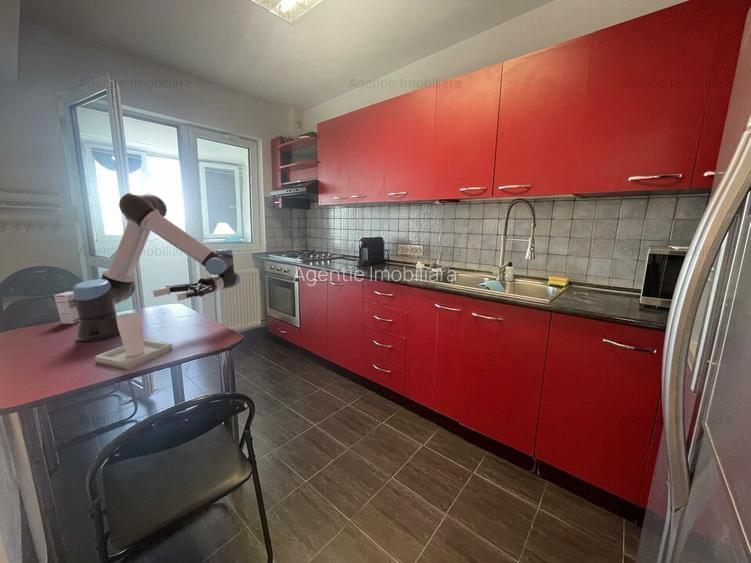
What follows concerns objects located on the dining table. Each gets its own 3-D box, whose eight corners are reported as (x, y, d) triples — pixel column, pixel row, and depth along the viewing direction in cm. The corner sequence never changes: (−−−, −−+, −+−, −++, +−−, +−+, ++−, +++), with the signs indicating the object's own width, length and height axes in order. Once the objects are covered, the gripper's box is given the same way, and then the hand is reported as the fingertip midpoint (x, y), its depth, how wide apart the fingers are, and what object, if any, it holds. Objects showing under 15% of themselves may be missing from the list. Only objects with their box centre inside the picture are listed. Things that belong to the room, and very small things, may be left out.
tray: (96, 362, 104) (94, 356, 104) (143, 344, 119) (142, 338, 119) (127, 370, 99) (126, 363, 99) (172, 349, 114) (171, 343, 114)
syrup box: (73, 323, 141) (66, 294, 138) (60, 323, 141) (53, 294, 138) (84, 319, 147) (78, 291, 144) (73, 319, 147) (66, 291, 144)
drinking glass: (151, 351, 111) (144, 313, 108) (132, 359, 105) (124, 319, 102) (139, 348, 113) (132, 311, 110) (119, 356, 107) (111, 317, 104)
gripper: (231, 295, 136) (189, 308, 116) (191, 289, 144) (145, 300, 124) (230, 279, 134) (187, 289, 115) (189, 274, 142) (143, 283, 123)
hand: (165, 295), depth 119 cm, fingers open, 13 cm apart
